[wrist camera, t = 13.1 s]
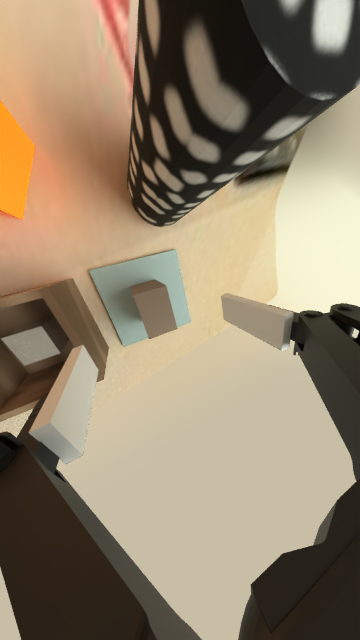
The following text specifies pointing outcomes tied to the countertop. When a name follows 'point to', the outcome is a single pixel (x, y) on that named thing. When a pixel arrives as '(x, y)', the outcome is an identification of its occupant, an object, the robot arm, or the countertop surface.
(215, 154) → the white-spotted black cylinder
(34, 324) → the metal cube
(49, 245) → the countertop surface
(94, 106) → the countertop surface
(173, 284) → the lid
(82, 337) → the storage box
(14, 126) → the orange juice
